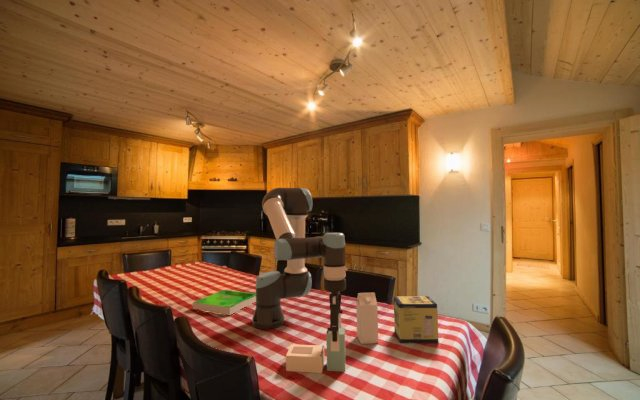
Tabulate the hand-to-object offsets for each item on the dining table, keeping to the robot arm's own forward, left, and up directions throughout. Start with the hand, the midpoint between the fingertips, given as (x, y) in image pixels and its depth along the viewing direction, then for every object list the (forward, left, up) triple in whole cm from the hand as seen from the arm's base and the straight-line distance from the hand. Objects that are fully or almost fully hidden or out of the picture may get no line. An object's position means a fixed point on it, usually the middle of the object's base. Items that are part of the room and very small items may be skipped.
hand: (336, 341), depth 96 cm
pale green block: (0, 0, -9) cm, 9 cm away
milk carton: (+11, +21, -9) cm, 26 cm away
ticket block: (-11, 0, -9) cm, 14 cm away
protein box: (+31, +25, -9) cm, 41 cm away
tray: (-66, +57, -9) cm, 88 cm away
